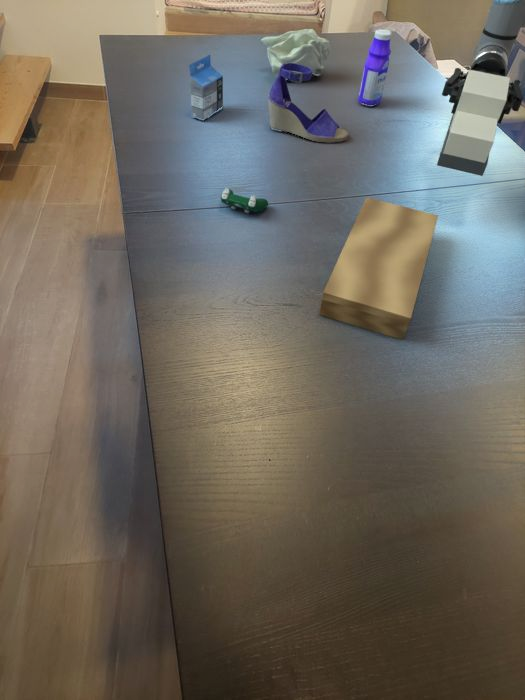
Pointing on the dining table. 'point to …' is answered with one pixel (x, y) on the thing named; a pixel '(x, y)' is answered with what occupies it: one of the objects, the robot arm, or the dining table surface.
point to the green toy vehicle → (243, 201)
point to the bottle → (375, 68)
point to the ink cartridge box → (205, 88)
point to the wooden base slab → (380, 268)
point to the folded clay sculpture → (297, 50)
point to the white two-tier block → (474, 123)
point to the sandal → (291, 116)
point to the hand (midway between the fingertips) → (478, 111)
